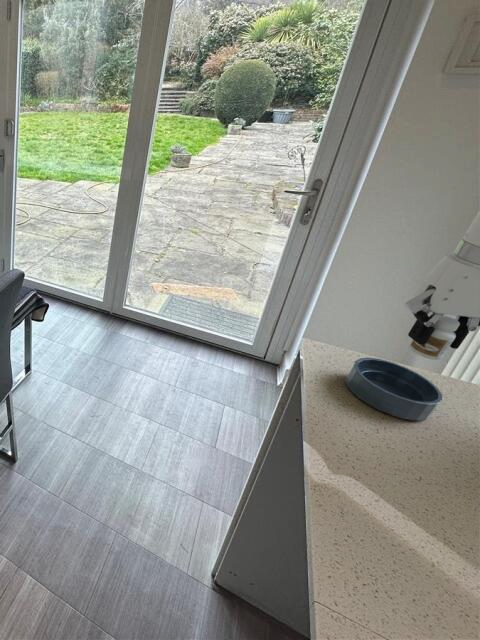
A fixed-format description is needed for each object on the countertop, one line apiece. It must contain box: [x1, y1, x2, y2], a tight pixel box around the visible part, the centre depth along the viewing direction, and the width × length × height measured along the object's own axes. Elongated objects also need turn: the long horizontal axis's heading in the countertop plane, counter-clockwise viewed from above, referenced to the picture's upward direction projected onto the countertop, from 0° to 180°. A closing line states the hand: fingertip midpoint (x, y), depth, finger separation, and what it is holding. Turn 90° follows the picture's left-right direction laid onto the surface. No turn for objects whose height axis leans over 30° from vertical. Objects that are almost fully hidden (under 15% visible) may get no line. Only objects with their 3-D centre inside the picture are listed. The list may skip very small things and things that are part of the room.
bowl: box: [345, 357, 443, 421], centre depth 85 cm, size 13×13×5 cm
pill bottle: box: [409, 314, 460, 361], centre depth 76 cm, size 4×4×8 cm
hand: (432, 341), depth 77 cm, fingers closed on pill bottle, 4 cm apart
